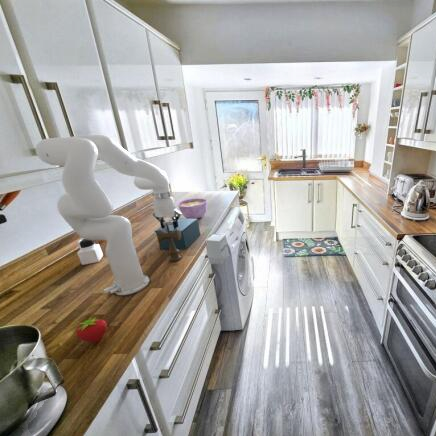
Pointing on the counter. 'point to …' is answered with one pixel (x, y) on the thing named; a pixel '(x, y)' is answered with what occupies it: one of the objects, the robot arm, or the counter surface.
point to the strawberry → (92, 330)
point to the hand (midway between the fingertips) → (170, 227)
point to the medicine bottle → (89, 251)
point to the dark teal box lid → (181, 225)
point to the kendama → (170, 241)
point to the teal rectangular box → (183, 238)
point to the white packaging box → (217, 249)
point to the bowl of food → (193, 208)
